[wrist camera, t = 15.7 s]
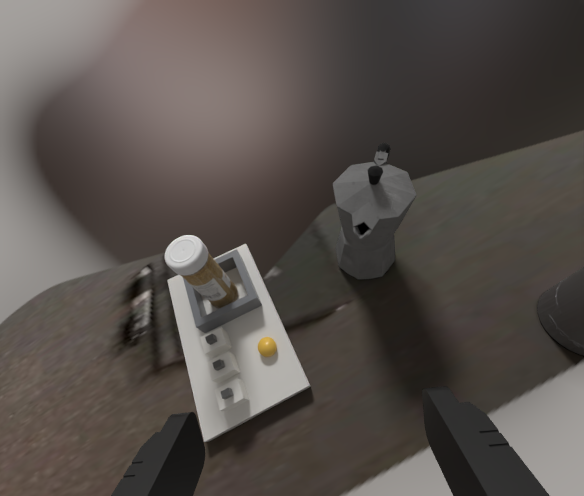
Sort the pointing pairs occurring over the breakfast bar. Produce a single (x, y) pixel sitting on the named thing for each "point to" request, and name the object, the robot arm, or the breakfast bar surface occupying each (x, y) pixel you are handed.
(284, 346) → the breaker panel
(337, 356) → the breakfast bar surface
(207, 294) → the sprinkles bottle
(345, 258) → the coffeepot
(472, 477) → the robot arm
